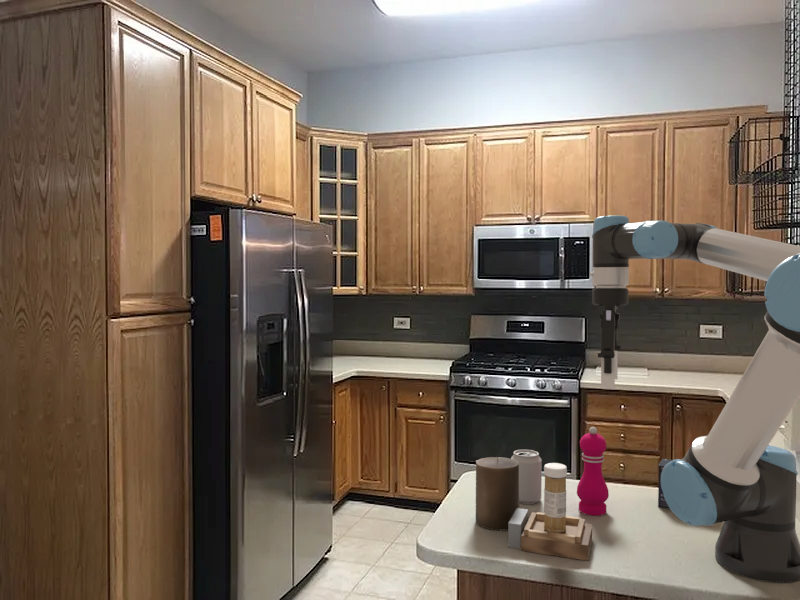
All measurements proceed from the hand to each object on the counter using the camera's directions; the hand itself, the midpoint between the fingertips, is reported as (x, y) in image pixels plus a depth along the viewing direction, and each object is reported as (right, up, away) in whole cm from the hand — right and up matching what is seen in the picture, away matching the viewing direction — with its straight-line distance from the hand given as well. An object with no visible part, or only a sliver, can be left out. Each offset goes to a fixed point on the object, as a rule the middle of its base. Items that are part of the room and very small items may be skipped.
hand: (609, 383), depth 140 cm
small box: (+21, -32, +12) cm, 40 cm away
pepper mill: (-1, -32, +10) cm, 33 cm away
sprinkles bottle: (-14, -29, -9) cm, 34 cm away
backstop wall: (-21, -32, -6) cm, 39 cm away
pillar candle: (-24, -32, +3) cm, 40 cm away
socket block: (-14, -32, -9) cm, 36 cm away
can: (-15, -31, +18) cm, 39 cm away
